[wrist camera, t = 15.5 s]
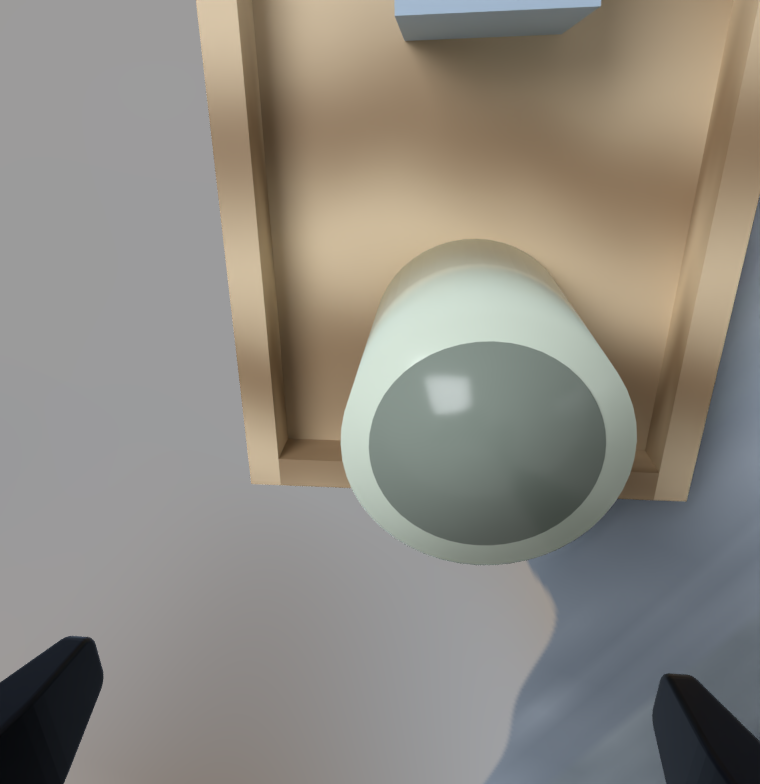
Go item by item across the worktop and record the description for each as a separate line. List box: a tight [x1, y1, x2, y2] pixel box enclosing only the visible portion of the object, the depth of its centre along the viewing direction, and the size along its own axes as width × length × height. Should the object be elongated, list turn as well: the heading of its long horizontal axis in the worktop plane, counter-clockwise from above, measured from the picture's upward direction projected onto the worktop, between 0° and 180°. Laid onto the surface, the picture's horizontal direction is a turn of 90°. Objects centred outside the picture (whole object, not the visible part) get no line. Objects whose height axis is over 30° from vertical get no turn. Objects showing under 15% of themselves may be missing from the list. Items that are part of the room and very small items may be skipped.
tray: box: [196, 0, 760, 501], centre depth 16 cm, size 20×14×2 cm
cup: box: [341, 239, 637, 565], centre depth 15 cm, size 6×6×7 cm
